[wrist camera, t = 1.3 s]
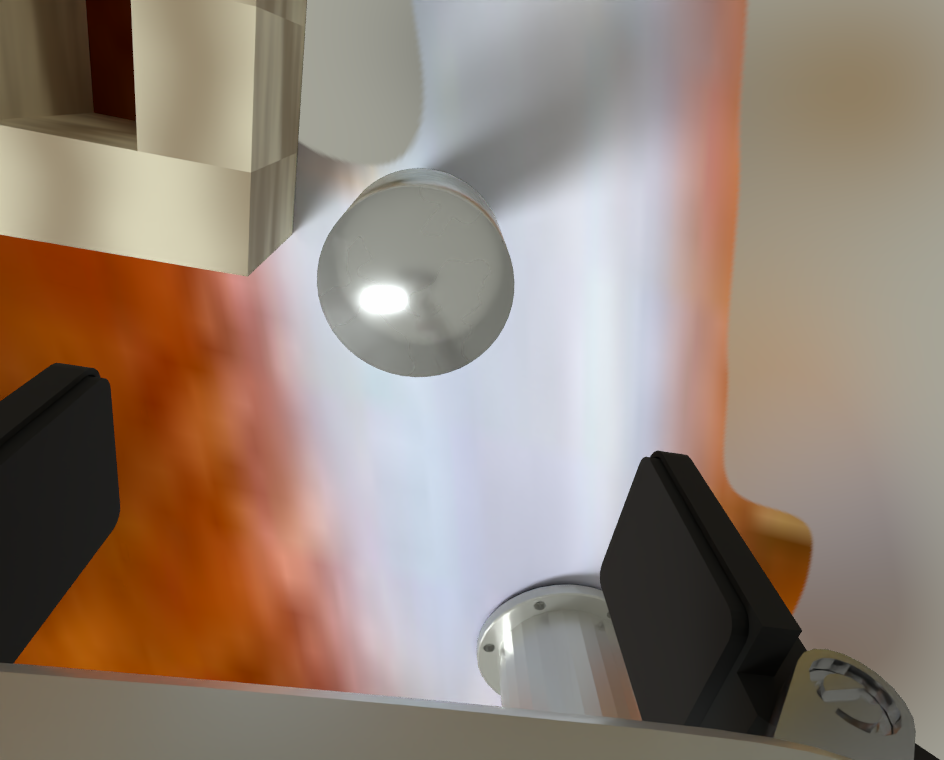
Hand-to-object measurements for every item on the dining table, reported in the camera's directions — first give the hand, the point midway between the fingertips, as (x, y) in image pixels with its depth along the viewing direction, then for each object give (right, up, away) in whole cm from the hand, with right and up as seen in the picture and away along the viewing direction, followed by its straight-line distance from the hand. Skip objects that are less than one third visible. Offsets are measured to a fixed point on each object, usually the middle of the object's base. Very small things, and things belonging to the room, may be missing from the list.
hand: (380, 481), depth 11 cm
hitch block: (-14, +17, +18) cm, 28 cm away
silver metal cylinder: (-1, +10, +21) cm, 24 cm away
